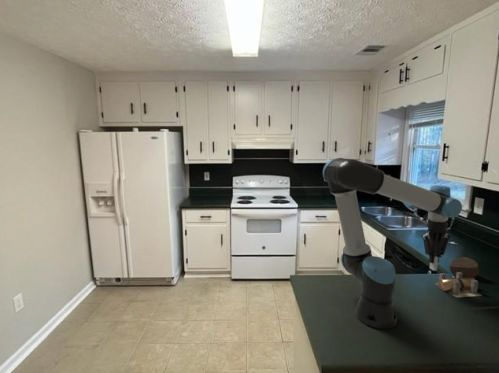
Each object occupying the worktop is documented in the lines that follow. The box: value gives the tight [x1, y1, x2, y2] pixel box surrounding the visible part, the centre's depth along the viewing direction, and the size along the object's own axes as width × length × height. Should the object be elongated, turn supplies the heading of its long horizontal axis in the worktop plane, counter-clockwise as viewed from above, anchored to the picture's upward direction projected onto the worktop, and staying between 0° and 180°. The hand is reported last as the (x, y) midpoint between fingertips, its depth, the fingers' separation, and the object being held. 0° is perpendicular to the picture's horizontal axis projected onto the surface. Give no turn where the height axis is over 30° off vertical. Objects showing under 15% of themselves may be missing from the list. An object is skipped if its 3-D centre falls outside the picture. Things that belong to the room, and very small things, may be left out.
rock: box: [449, 256, 480, 279], centre depth 144 cm, size 12×10×10 cm
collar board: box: [434, 272, 483, 298], centre depth 131 cm, size 13×13×7 cm
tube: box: [437, 278, 476, 292], centre depth 131 cm, size 16×5×5 cm, turn 97°
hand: (433, 269), depth 128 cm, fingers closed
